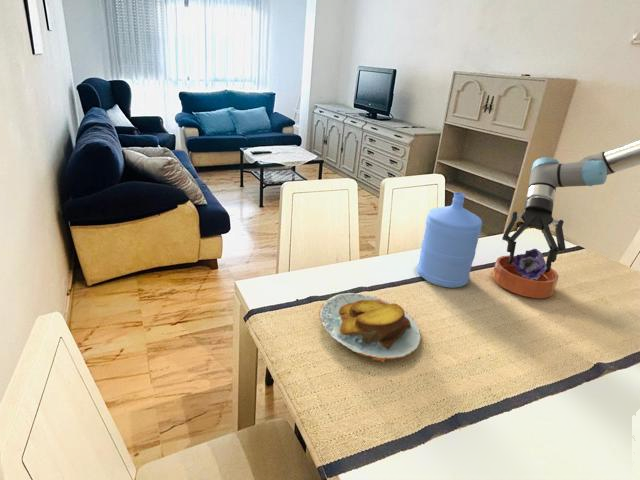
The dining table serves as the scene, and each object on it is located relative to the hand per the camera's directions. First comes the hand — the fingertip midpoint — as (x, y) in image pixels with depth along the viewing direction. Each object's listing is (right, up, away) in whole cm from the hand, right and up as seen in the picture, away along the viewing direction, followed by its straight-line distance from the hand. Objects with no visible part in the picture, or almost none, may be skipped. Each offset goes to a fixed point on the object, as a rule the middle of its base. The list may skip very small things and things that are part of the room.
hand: (528, 266), depth 116 cm
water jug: (-23, -5, +9) cm, 25 cm away
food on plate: (-53, -13, -18) cm, 58 cm away
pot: (+1, -7, +6) cm, 9 cm away
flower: (+2, -3, +4) cm, 5 cm away
